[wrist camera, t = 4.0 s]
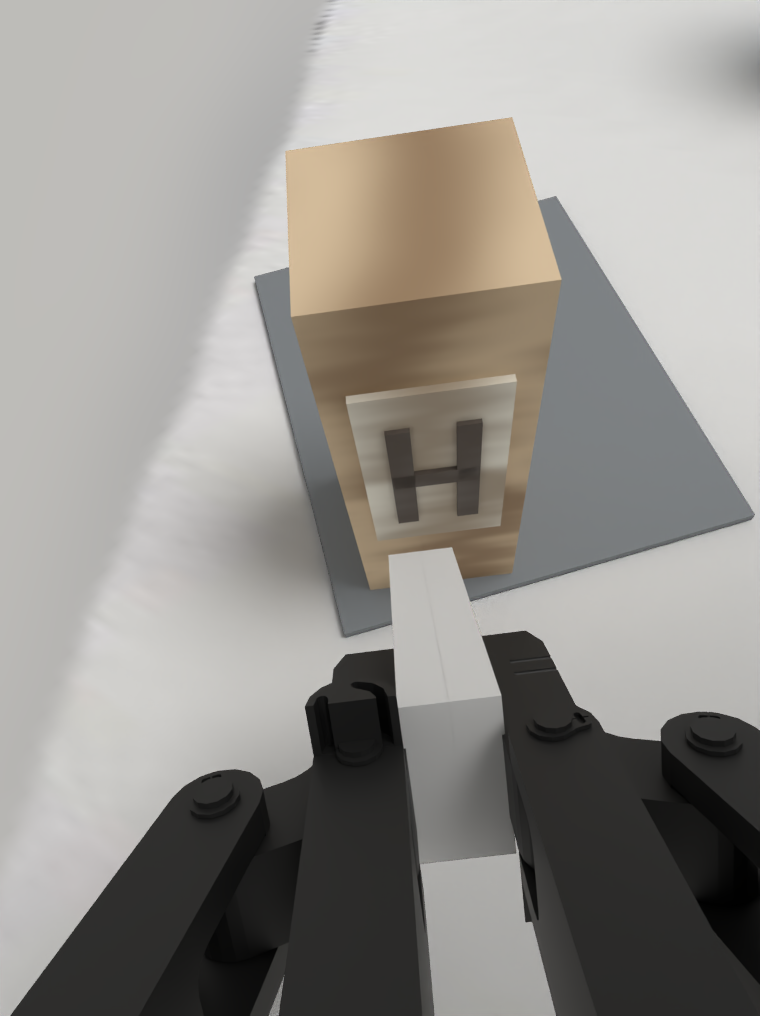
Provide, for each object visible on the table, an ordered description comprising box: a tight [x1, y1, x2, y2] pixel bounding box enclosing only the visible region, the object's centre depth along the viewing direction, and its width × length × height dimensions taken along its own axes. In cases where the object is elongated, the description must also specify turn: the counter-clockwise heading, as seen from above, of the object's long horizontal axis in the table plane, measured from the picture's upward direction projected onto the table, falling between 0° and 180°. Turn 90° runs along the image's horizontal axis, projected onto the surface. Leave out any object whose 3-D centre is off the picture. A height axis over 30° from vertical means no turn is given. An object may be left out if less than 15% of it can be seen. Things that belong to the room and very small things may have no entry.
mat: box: [254, 196, 755, 637], centre depth 34 cm, size 18×22×1 cm
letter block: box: [286, 117, 562, 590], centre depth 24 cm, size 6×6×16 cm
